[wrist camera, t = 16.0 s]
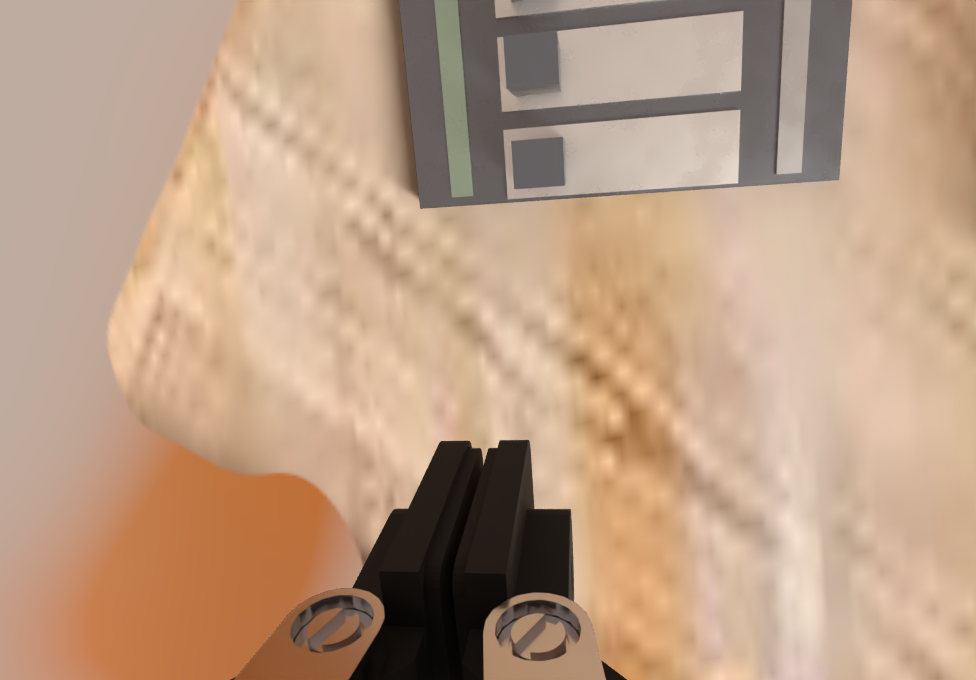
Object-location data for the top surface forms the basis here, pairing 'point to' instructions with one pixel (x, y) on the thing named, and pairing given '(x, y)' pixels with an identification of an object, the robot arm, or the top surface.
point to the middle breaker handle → (532, 63)
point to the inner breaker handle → (539, 163)
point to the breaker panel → (628, 95)
